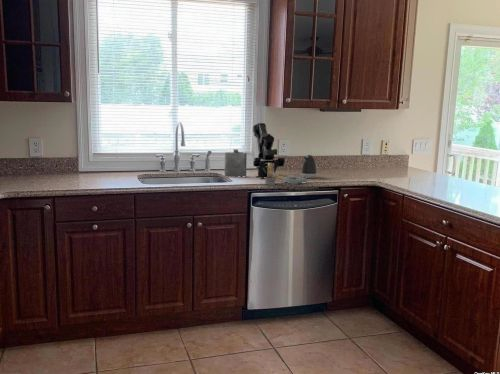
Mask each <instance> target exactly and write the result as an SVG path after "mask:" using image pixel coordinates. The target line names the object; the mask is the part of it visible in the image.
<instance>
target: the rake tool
mask: <svg viewBox="0 0 500 374" xmlns="http://www.w3.org/2000/svg"><path fill="white" fill-rule="evenodd" d="M267 171H268V172H267V176H268V177H265V178H264V183H266V184H268V185H267V186H275V185H276V182H275V181H276V180H275V178H274V177H273V175H274V174H273V173H274V164H273V163H268V168H267ZM266 184H265V185H266Z"/></svg>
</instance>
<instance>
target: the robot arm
mask: <svg viewBox="0 0 500 374" xmlns="http://www.w3.org/2000/svg"><path fill="white" fill-rule="evenodd" d="M252 132H253V136H254V137H255V138H256V140H257V141H256V142H257V149H258V155H257V157H254V158H253V161H252V162H253V163H252V164H253V167H255V169H257V175H256V176H255V177H256V178H258V177H268V163H273V173H274V174H276V171H277V168H279V167H283V166H285V161H286V160H285V159H286V158H285V157H277V159H275V156H277V155H278V150H277V148H274V149H273V148H272V147H274V142H275V137H274V136H273V135H271V133H268V131H267V125H266V123H265V122H259V123H256V124H254V125H253V126H252Z"/></svg>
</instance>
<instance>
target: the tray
mask: <svg viewBox="0 0 500 374" xmlns="http://www.w3.org/2000/svg"><path fill="white" fill-rule="evenodd" d="M281 181H285V182H289V183H291V184H290V185H299V184H298V183H302V182H306V183H307V178H304V177H299V176H294V177H284V178H281ZM281 181H280V182H281ZM302 184H303V183H302Z"/></svg>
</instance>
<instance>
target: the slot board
mask: <svg viewBox="0 0 500 374" xmlns="http://www.w3.org/2000/svg"><path fill="white" fill-rule="evenodd" d="M273 177H274V178H275V179H276V180H275V181H277V180H281V178H284V177H294V176H293V175H290V174H285V173H278V174H273Z"/></svg>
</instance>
